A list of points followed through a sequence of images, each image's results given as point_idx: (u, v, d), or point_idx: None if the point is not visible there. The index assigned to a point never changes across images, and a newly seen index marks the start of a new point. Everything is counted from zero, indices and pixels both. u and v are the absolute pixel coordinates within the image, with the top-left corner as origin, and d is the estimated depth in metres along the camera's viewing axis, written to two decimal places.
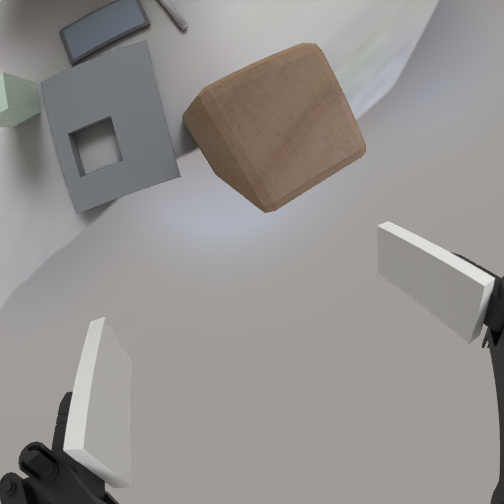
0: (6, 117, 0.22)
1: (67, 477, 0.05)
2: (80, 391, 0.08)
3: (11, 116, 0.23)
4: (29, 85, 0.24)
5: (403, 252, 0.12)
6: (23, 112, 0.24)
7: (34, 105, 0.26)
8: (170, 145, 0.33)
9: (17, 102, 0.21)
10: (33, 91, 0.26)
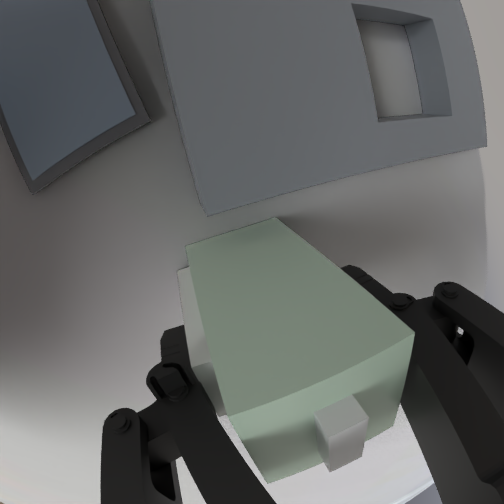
0: None
1: (197, 400, 0.07)
2: (192, 319, 0.10)
3: None
4: (206, 260, 0.12)
5: None
6: None
7: (271, 234, 0.13)
8: None
9: (332, 292, 0.08)
10: (219, 243, 0.13)
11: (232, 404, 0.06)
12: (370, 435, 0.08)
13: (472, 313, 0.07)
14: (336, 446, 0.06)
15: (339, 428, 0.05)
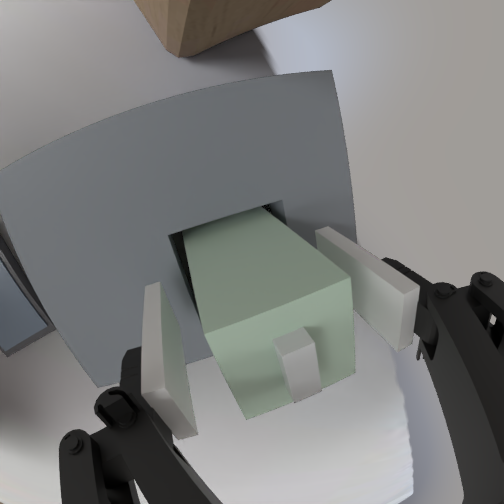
0: None
1: (145, 425, 0.06)
2: (150, 341, 0.09)
3: None
4: (198, 238, 0.14)
5: (336, 257, 0.13)
6: None
7: (252, 216, 0.15)
8: (258, 81, 0.12)
9: (292, 253, 0.11)
10: (209, 226, 0.16)
11: (208, 326, 0.08)
12: (333, 378, 0.10)
13: None
14: (292, 369, 0.08)
15: (290, 349, 0.08)
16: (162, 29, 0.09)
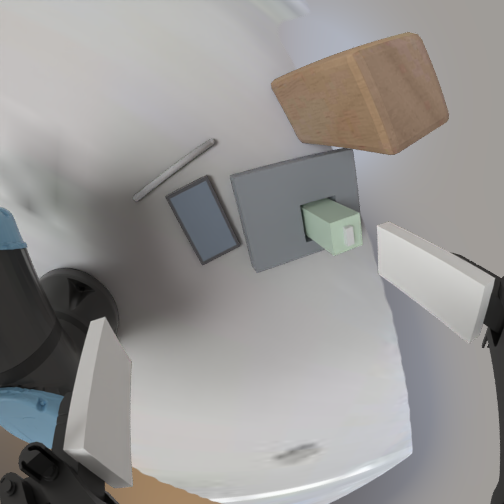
0: None
1: (67, 477, 0.05)
2: (80, 391, 0.08)
3: None
4: (308, 207, 0.42)
5: (403, 252, 0.12)
6: None
7: (324, 200, 0.43)
8: (329, 155, 0.39)
9: (343, 209, 0.38)
10: (309, 203, 0.43)
11: (329, 222, 0.35)
12: (356, 244, 0.38)
13: None
14: (348, 233, 0.36)
15: (347, 227, 0.35)
16: (304, 137, 0.37)
